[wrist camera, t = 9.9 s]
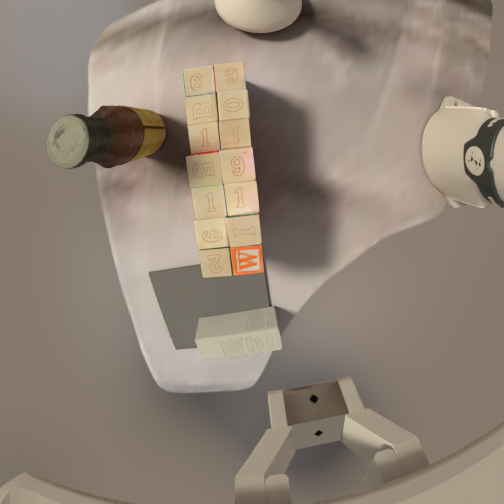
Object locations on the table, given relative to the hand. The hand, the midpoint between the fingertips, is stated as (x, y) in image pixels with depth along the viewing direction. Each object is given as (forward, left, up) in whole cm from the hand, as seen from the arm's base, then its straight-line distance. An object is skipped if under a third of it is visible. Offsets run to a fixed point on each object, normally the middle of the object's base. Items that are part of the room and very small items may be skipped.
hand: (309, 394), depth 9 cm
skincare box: (-1, +18, -28) cm, 33 cm away
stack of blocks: (+3, -6, -32) cm, 32 cm away
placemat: (+9, +15, -31) cm, 36 cm away
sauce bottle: (+13, -12, -31) cm, 36 cm away
